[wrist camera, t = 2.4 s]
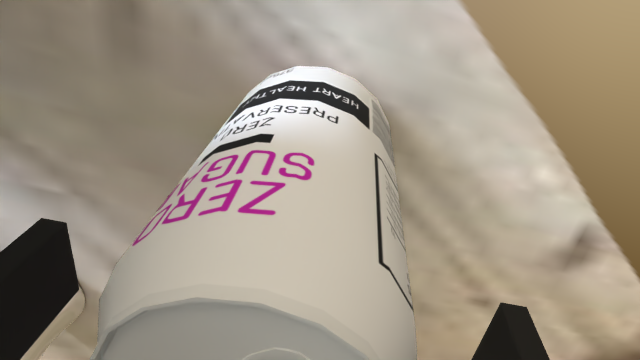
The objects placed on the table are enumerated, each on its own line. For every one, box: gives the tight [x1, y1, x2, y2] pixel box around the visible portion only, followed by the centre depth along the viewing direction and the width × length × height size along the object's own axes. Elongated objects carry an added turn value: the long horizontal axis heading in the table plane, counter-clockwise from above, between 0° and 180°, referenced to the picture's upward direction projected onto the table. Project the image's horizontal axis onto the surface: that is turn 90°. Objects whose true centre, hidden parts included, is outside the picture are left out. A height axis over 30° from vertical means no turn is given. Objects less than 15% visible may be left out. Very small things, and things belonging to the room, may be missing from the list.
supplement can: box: [90, 66, 417, 360], centre depth 16 cm, size 8×8×15 cm
